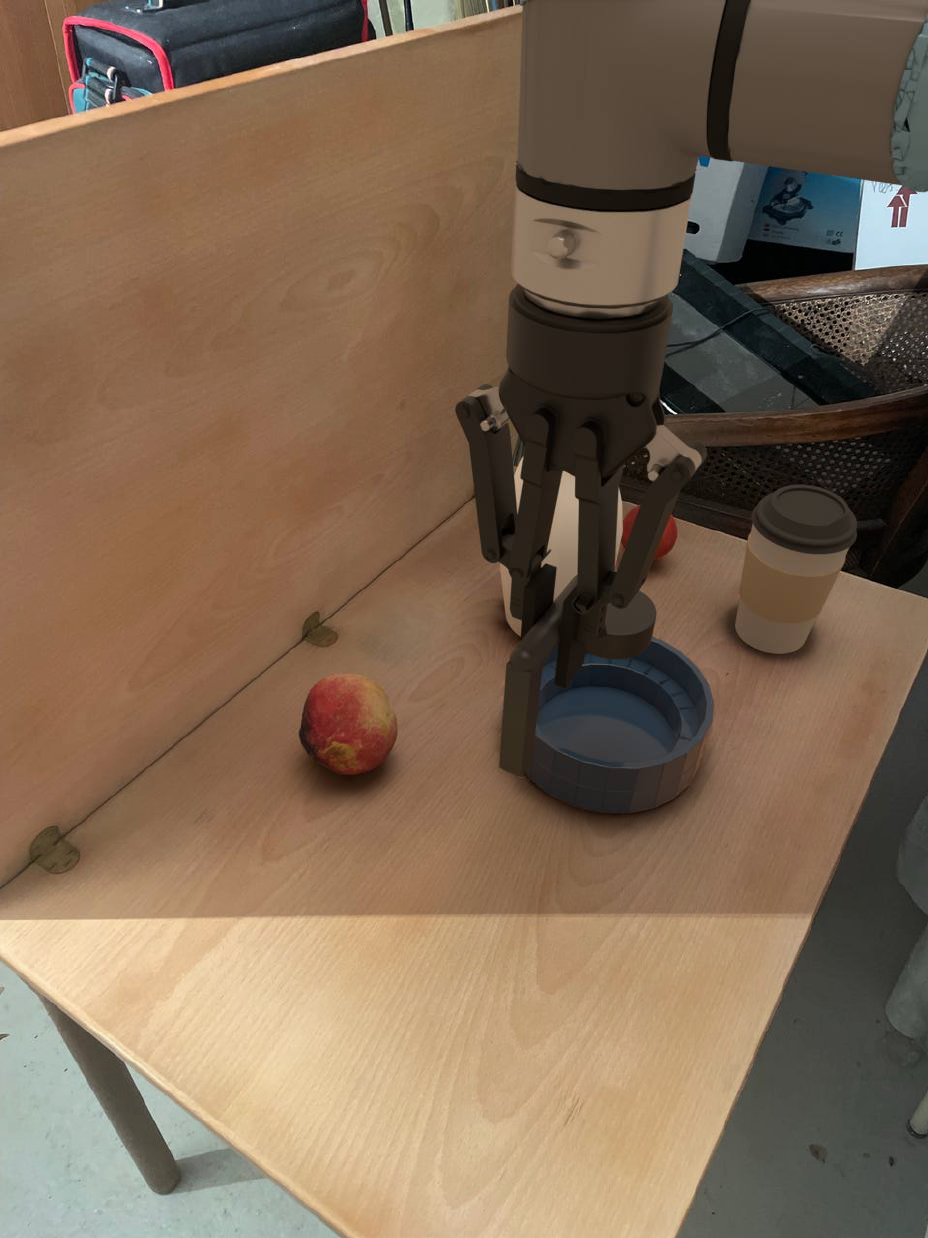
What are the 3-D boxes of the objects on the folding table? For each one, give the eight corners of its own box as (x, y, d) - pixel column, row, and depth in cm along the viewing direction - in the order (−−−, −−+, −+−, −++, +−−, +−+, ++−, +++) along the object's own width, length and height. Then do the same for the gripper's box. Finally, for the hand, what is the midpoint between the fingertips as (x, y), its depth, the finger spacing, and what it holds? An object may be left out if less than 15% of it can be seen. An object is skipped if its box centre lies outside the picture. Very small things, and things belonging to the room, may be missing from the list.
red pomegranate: (631, 581, 94) (642, 517, 89) (606, 550, 98) (616, 487, 93) (680, 571, 95) (694, 507, 90) (654, 541, 99) (666, 478, 94)
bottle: (533, 672, 83) (556, 423, 67) (474, 604, 90) (482, 365, 74) (630, 635, 87) (674, 392, 71) (566, 573, 95) (593, 340, 78)
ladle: (590, 597, 70) (606, 488, 64) (663, 624, 68) (687, 514, 61) (467, 754, 58) (471, 639, 51) (551, 794, 55) (567, 678, 49)
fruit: (409, 782, 73) (407, 713, 68) (316, 807, 71) (306, 738, 66) (382, 716, 78) (378, 648, 73) (295, 738, 76) (284, 669, 71)
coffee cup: (704, 627, 88) (737, 497, 79) (756, 590, 93) (793, 463, 83) (785, 675, 83) (830, 543, 74) (836, 632, 88) (884, 503, 78)
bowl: (725, 718, 79) (740, 669, 75) (656, 851, 68) (670, 801, 64) (560, 652, 85) (565, 603, 81) (473, 764, 74) (475, 714, 71)
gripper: (410, 280, 41) (418, 658, 56) (724, 354, 36) (639, 752, 51) (490, 236, 46) (478, 594, 61) (777, 295, 41) (685, 673, 56)
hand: (551, 665), depth 56 cm, fingers closed on ladle, 2 cm apart
